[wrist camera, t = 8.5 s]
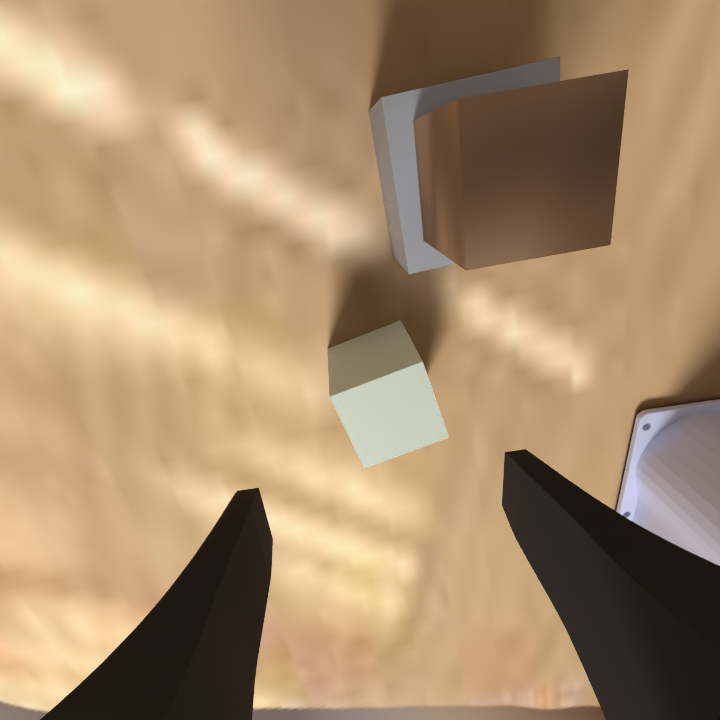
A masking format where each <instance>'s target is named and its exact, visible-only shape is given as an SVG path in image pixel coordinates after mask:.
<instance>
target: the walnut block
mask: <svg viewBox="0 0 720 720" xmlns="http://www.w3.org/2000/svg"><path fill="white" fill-rule="evenodd" d="M627 79H628V70H623V71H617V72H611V73H605V74H600V75H594V76H588V77H582V78H576V79H570V80H564V81H558V82H552V83H546V84H540V85H535V86H529V87H523V88H517V89H511V90H505V91H499V92H493V93H487V94H481V95H475V96H469V97H464V98H458V99H456V100H454V101H452V102H450V103H448V104H446V105H444V106H442V107H440V108H438V109H436V110H434V111H432V112H430V113H428V114H426V115H424V116H422V117H420V118H418V119H415V120H413V125H414V137H415V148H416V160H417V172H418V183H419V195H420V206H421V218H422V230H423V241H424V242H426V243H427V244H429V245H430V246H432V247H433V248H434V249H436V250H437V251H439V252H440V253H442V254H443V255H445V256H446V257H447V258H449V259H450V260H452V261H453V262H455V263H456V264H457V265H459V266H460V267H462V268H463V269H465V270H471V269H477V268H482V267H488V266H494V265H499V264H505V263H511V262H516V261H522V260H528V259H533V258H539V257H545V256H550V255H556V254H562V253H567V252H573V251H579V250H584V249H590V248H596V247H601V246H607V245H610V243H611V234H612V224H613V214H614V204H615V195H616V185H617V175H618V166H619V156H620V146H621V137H622V127H623V117H624V108H625V98H626V88H627Z"/></svg>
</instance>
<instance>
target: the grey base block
mask: <svg viewBox="0 0 720 720" xmlns="http://www.w3.org/2000/svg"><path fill="white" fill-rule="evenodd" d="M558 81H560V57H556V58H552V59H547V60H543V61H538V62H534V63H530V64H525V65H521V66H516V67H512V68H508V69H503V70H499V71H494V72H490V73H486V74H481V75H477V76H472V77H468V78H464V79H459V80H455V81H450V82H446V83H442V84H437V85H433V86H428V87H424V88H420V89H415V90H411V91H406V92H402V93H398V94H393V95H389V96H384V97H381V98H380V99H379V100H378V101H377V103H376V104H375V105H374V106H373V107H372V108H371V109H370V110H369V116H370V122H371V128H372V134H373V140H374V146H375V152H376V158H377V164H378V170H379V176H380V182H381V188H382V194H383V200H384V206H385V211H386V217H387V223H388V229H389V235H390V241H391V247H392V253H393V256H394V258H395V259H396V260H397V261H398V262H399V264H400V265H401V266H402V267H403V268H404V269H405V271H406V272H407V273H408V274H413V273H417V272H421V271H426V270H430V269H435V268H439V267H444V266H448V265H452V264H456V263H455V262H453V261H452V260H450V259H449V258H447V257H446V256H445V255H443V254H442V253H440V252H439V251H437V250H436V249H434V248H433V247H432V246H430V245H429V244H427V243H426V242H424V241H423V230H422V218H421V206H420V195H419V183H418V172H417V160H416V148H415V137H414V125H413V120H415V119H418V118H420V117H422V116H424V115H426V114H428V113H430V112H432V111H434V110H436V109H438V108H440V107H442V106H444V105H446V104H448V103H450V102H452V101H454V100H456V99H458V98H464V97H469V96H475V95H481V94H487V93H493V92H499V91H505V90H511V89H517V88H523V87H529V86H535V85H540V84H546V83H552V82H558Z"/></svg>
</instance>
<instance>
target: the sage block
mask: <svg viewBox="0 0 720 720" xmlns="http://www.w3.org/2000/svg"><path fill="white" fill-rule="evenodd" d="M328 370H329V392H330V398H331V400H332V403H333V405H334V407H335V409H336V411H337V413H338V415H339V417H340V419H341V421H342V423H343V425H344V427H345V429H346V432H347V434H348V436H349V438H350V440H351V442H352V444H353V446H354V448H355V450H356V452H357V454H358V456H359V458H360V461H361V463H362V465H363V467H364V468H367V467H369V466H372V465H375V464H378V463H380V462H383V461H386V460H389V459H391V458H394V457H397V456H400V455H403V454H405V453H408V452H411V451H414V450H416V449H419V448H422V447H425V446H427V445H430V444H433V443H436V442H438V441H441V440H444V439H447V438H449V435H448V433H447V430H446V427H445V424H444V421H443V418H442V415H441V412H440V410H439V407H438V404H437V401H436V398H435V395H434V392H433V390H432V387H431V384H430V381H429V378H428V375H427V372H426V369H425V367H424V364H423V361H422V359H421V357H420V355H419V354H418V352H417V350H416V348H415V346H414V344H413V342H412V340H411V339H410V337H409V335H408V333H407V331H406V329H405V327H404V325H403V323H402V322H401V320H400V321H397V322H395V323H392V324H389V325H387V326H384V327H382V328H379V329H377V330H374V331H371V332H369V333H366V334H364V335H361V336H359V337H356V338H353V339H351V340H348V341H346V342H343V343H341V344H338V345H335V346H333V347H330V348H328Z"/></svg>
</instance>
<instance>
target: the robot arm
mask: <svg viewBox="0 0 720 720" xmlns="http://www.w3.org/2000/svg"><path fill="white" fill-rule="evenodd" d="M502 506H503V509H504V511H505V514H506V516H507V519H508V521H509V524H510V526H511V528H512V531H513V533H514V535H515V538H516V539H517V541H518V543H519V545H520V547H521V549H522V550H523V552H524V554H525V556H526V558H527V559H528V561H529V563H530V565H531V566H532V568H533V570H534V572H535V574H536V575H537V577H538V579H539V581H540V582H541V584H542V586H543V588H544V589H545V591H546V593H547V595H548V596H549V598H550V600H551V602H552V604H553V605H554V607H555V609H556V611H557V612H558V614H559V616H560V618H561V620H562V622H563V624H564V626H565V628H566V630H567V632H568V634H569V636H570V638H571V641H572V643H573V645H574V647H575V649H576V652H577V654H578V656H579V658H580V660H581V663H582V665H583V667H584V669H585V672H586V674H587V676H588V679H589V681H590V683H591V685H592V688H593V690H594V692H595V695H596V697H597V699H598V702H599V704H600V706H601V709H602V711H603V713H604V716H605V718H606V720H720V399H717V400H710V401H703V402H696V403H689V404H682V405H675V406H668V407H661V408H654V409H647V410H643V411H641V412H639V414H638V415H637V417H636V420H635V425H634V430H633V435H632V439H631V444H630V449H629V453H628V458H627V463H626V467H625V472H624V477H623V482H622V486H621V491H620V496H619V500H618V505H617V510H616V511H614V510H613V509H611V508H610V507H608V506H606V505H605V504H603V503H602V502H600V501H599V500H597V499H596V498H594V497H592V496H591V495H589V494H588V493H586V492H585V491H584V490H582V489H581V488H579V487H578V486H576V485H575V484H573V483H572V482H570V481H569V480H568V479H566V478H565V477H563V476H562V475H561V474H559V473H558V472H556V471H555V470H554V469H552V468H551V467H549V466H548V465H547V464H545V463H544V462H543V461H541V460H540V459H538V458H537V457H536V456H534V455H533V454H531V453H530V452H529V451H527V450H526V449H524V450H517V451H510V452H505V461H504V479H503V497H502ZM272 545H273V539H272V535H271V531H270V528H269V524H268V520H267V517H266V513H265V509H264V505H263V502H262V498H261V494H260V491H259V488H255V489H248V490H241V491H237V492H236V493H235V495H234V496H233V498H232V499H231V501H230V502H229V504H228V506H227V507H226V509H225V510H224V512H223V514H222V515H221V517H220V518H219V520H218V521H217V523H216V525H215V526H214V528H213V529H212V531H211V532H210V534H209V535H208V537H207V538H206V539H205V541H204V542H203V544H202V545H201V547H200V548H199V550H198V551H197V553H196V554H195V555H194V557H193V558H192V560H191V561H190V562H189V564H188V565H187V566H186V568H185V569H184V570H183V572H182V573H181V574H180V576H179V577H178V578H177V580H176V581H175V582H174V584H173V585H172V586H171V587H170V589H169V590H168V591H167V592H166V594H165V595H164V596H163V597H162V599H161V600H160V601H159V602H158V603H157V604H156V606H155V607H154V608H153V609H152V610H151V611H150V613H149V614H148V615H147V616H146V617H145V618H144V620H143V621H142V622H141V623H140V624H139V625H138V626H137V627H136V628H135V629H134V630H133V632H132V633H131V634H130V635H129V636H128V637H127V638H126V639H125V640H124V641H123V642H122V643H121V644H120V645H119V646H118V647H117V648H116V649H115V650H114V651H113V652H112V653H111V654H110V655H109V656H108V657H107V659H106V660H105V661H104V662H103V663H102V664H101V665H100V666H99V667H97V668H96V669H95V670H94V671H93V672H92V673H91V674H90V675H89V676H88V677H87V678H86V679H85V680H84V681H83V682H82V683H81V684H80V685H78V686H77V687H76V688H75V689H74V690H73V691H72V692H71V693H70V694H69V695H67V696H66V697H65V698H64V699H63V700H62V701H61V702H60V703H59V704H58V705H56V706H55V707H54V708H53V709H52V710H51V711H50V712H48V713H47V714H46V715H45V716H44V717H43V718H42V719H40V720H252V711H253V697H254V684H255V675H256V667H257V659H258V653H259V647H260V641H261V635H262V629H263V623H264V617H265V611H266V604H267V598H268V592H269V585H270V579H271V567H272Z"/></svg>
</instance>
